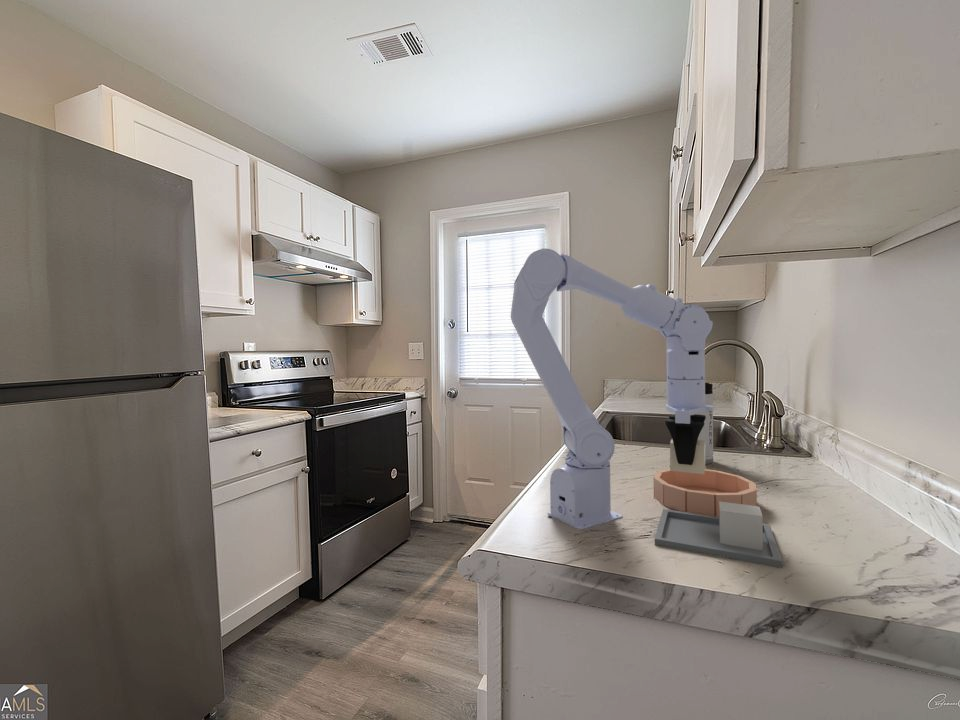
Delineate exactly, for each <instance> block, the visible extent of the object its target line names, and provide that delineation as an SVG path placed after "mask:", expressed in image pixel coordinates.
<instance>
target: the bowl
mask: <svg viewBox="0 0 960 720" xmlns="http://www.w3.org/2000/svg"><path fill="white" fill-rule="evenodd" d="M757 494H758V490H757V485H756V483H755V482H754V481H753V480H750V479H748V478H745V477H743V476H741V475H739V474H738V475H737V474H733V473H729V472H725V471H721V470H717V469H716V470H714V469H708V468H707V469H706V468H705V474H697V473H688V472H678V471H670V468H667V469H662V470H658V471H656V472H655V474H654V476H653V498H654V499H655V500H656V501H657V502H659V503H660V504H661V505H663V506H665V507H668V508H670V509H673V510H675V511H681V512H687V513H694V514H701V515H708V516H715V517H719V501H720V502H728V503H735V504H743V505H751V506H758V505H757V504H758V499H757V498H758V497H757V496H758V495H757Z"/></svg>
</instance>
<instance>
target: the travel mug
mask: <svg viewBox="0 0 960 720" xmlns="http://www.w3.org/2000/svg"><path fill="white" fill-rule="evenodd" d="M713 389H714V388H713V383H710V382H705V405H709V406H713V407H714V404H713V403H714V397H713V396H714V393H713ZM695 415H705V416H706V419H705V421H704V423H705V424H704V426H703V428H702V430H701V432H700V434H699V437H698V440H703V441H705V465H710V463H711V464H713V462H714V410H713V411H705V412H701V413H697V414H695Z"/></svg>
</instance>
